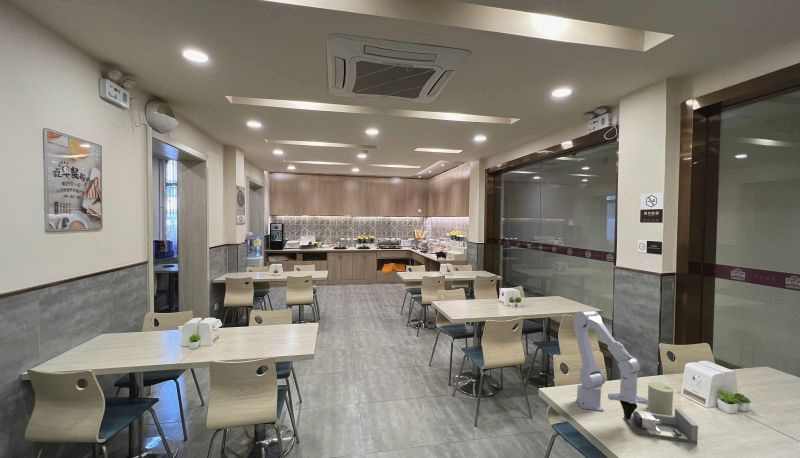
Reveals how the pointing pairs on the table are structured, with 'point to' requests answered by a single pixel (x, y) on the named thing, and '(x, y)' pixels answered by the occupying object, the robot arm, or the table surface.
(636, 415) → the white mechanical block
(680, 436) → the peak marker
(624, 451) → the table surface
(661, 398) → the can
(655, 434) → the gauge base
